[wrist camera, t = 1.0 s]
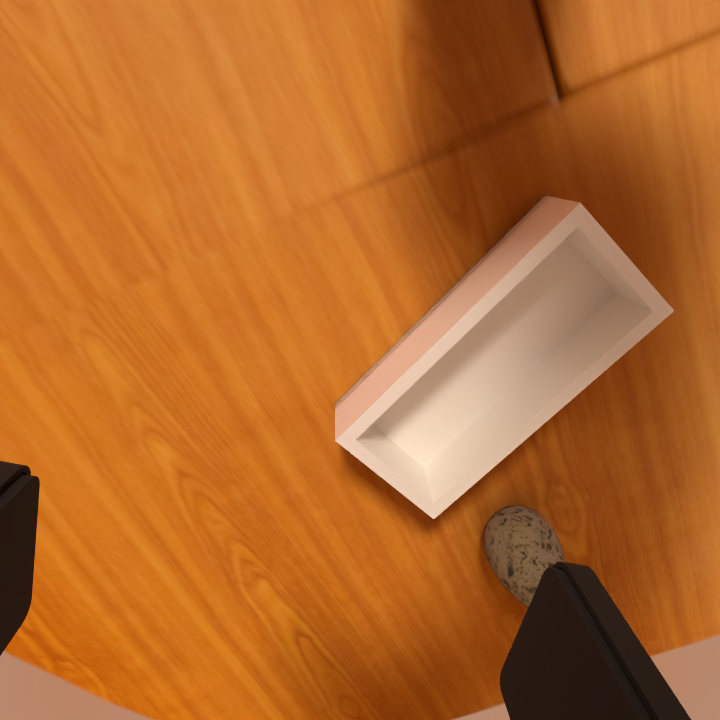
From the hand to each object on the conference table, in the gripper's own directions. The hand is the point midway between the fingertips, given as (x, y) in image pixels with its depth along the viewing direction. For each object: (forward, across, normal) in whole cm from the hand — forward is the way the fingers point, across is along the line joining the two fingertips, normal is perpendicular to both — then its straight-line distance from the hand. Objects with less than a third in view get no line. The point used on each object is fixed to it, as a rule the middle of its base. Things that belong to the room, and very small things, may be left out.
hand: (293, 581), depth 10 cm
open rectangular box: (+32, -13, +3) cm, 34 cm away
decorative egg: (+32, -21, +18) cm, 42 cm away
